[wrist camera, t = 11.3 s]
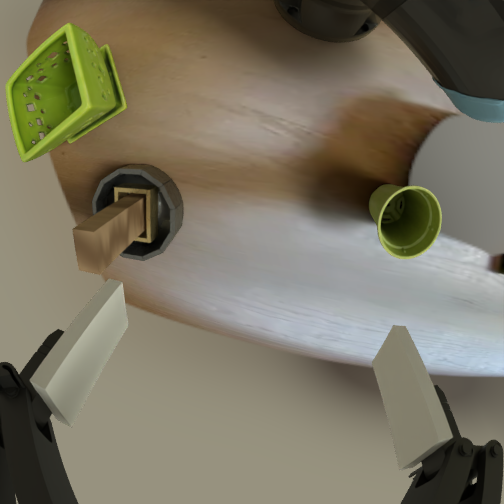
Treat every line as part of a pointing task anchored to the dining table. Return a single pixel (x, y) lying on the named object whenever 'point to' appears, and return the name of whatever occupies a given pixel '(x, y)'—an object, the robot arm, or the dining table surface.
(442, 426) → the robot arm
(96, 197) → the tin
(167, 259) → the dining table surface
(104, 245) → the wooden slab
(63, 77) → the flower pot
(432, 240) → the plant pot
